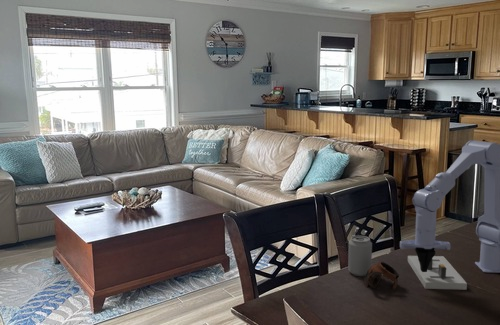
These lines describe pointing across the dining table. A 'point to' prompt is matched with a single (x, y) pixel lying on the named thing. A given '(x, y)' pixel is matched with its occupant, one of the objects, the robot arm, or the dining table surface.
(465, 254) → the dining table surface
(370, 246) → the can
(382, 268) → the pottery mug
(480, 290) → the dining table surface
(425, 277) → the breaker panel
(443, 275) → the handle
